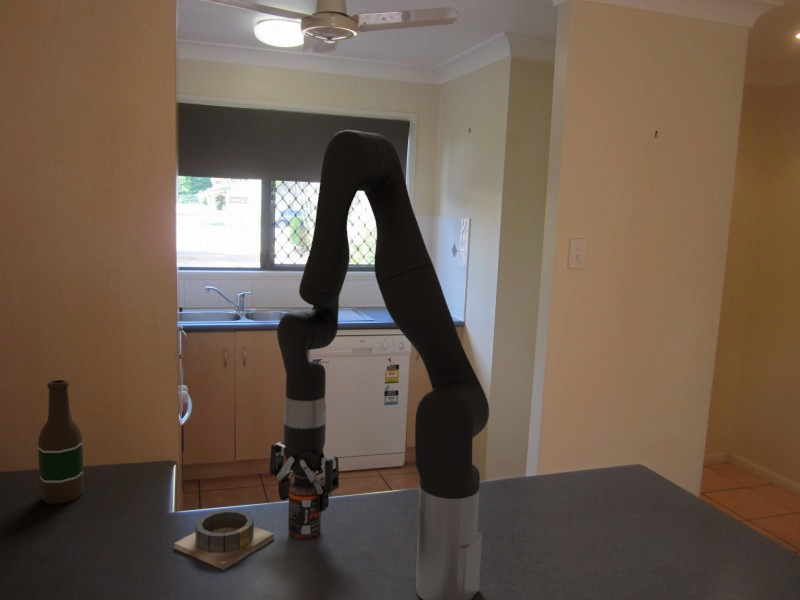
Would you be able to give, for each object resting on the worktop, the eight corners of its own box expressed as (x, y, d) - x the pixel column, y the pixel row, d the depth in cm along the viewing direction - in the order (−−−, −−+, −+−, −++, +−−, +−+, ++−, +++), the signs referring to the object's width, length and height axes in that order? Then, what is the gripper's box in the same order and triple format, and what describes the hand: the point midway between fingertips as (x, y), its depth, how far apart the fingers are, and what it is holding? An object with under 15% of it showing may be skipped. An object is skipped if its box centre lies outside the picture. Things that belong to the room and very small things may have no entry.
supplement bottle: (314, 542, 110) (315, 482, 108) (283, 538, 111) (283, 478, 110) (325, 526, 116) (326, 469, 114) (295, 522, 117) (295, 465, 115)
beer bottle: (42, 491, 127) (37, 378, 124) (84, 485, 130) (80, 375, 127) (38, 507, 120) (33, 388, 117) (83, 501, 123) (78, 384, 120)
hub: (273, 538, 111) (273, 517, 110) (223, 569, 100) (223, 546, 100) (226, 521, 117) (226, 501, 116) (174, 548, 106) (173, 526, 106)
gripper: (349, 422, 110) (346, 507, 112) (288, 407, 117) (286, 487, 119) (323, 433, 104) (321, 523, 106) (260, 417, 111) (259, 502, 113)
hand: (302, 504), depth 113 cm, fingers open, 8 cm apart
